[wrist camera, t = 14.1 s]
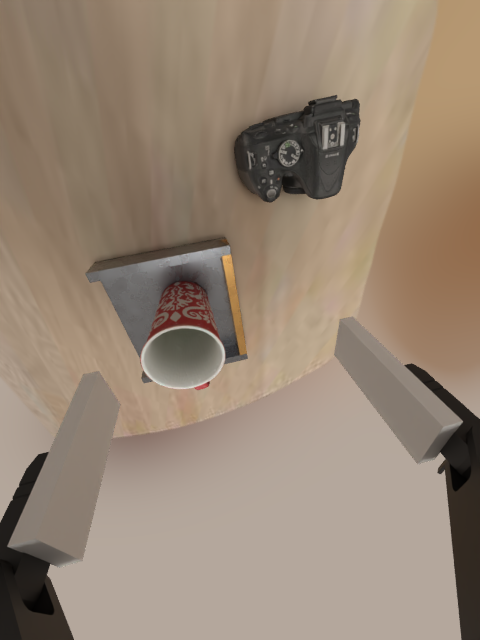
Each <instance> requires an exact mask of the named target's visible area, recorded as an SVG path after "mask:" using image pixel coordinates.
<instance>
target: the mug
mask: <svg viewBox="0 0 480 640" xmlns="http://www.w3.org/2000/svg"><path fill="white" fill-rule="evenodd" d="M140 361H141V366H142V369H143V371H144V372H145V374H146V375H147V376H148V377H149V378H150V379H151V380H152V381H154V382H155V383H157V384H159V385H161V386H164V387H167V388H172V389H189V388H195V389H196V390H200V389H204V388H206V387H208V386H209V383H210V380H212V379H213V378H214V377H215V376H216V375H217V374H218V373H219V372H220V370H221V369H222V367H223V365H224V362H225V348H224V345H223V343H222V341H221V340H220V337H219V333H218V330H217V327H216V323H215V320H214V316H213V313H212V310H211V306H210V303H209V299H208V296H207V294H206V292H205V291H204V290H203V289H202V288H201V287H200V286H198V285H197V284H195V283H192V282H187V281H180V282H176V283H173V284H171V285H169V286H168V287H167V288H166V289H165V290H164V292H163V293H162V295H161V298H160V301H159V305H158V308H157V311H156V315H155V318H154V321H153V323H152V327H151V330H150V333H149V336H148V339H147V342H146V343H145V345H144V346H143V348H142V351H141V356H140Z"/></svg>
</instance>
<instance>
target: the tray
mask: <svg viewBox="0 0 480 640" xmlns="http://www.w3.org/2000/svg"><path fill="white" fill-rule="evenodd" d="M85 274H86V276H87V278H88V280H89V282H90V283H91V282H96V281H101V282H102V284H103V286H104V288H105V290H106V292H107V294H108V296H109V298H110V300H111V302H112V304H113V306H114V308H115V310H116V312H117V314H118V316H119V318H120V320H121V322H122V324H123V326H124V328H125V330H126V332H127V334H128V336H129V338H130V340H131V342H132V344H133V345H134V347H135V349H136V351H137V353H138V355H139V357H140V356H141V351H142V348H143V346H144V345H145V343H146V342H147V339H148V336H149V333H150V330H151V327H152V323H153V321H154V318H155V315H156V311H157V308H158V305H159V301H160V298H161V295H162V293H163V292H164V290H165V289H166V288H167V287H168V286H169V285H171V284H173V283H176V282H180V281H187V282H192V283H195V284H197V285H198V286H200V287H201V288H202V289H203V290H204V291H205V292H206V294H207V296H208V299H209V303H210V306H211V310H212V313H213V316H214V320H215V323H216V327H217V330H218V333H219V337H220V340H221V341H222V343H223V345H224V348H225V362H224V364H227V363H232V362H236V361H240V360H244V359H248V357H247V351H246V345H245V339H244V332H243V326H242V320H241V314H240V307H239V301H238V295H237V289H236V282H235V276H234V270H233V264H232V257H231V251H230V245H229V243H228V242H227V240H226V238H225V237H224V238H219V239H214V240H209V241H203V242H198V243H193V244H188V245H183V246H178V247H172V248H167V249H162V250H157V251H152V252H147V253H141V254H136V255H131V256H126V257H121V258H116V259H110V260H105V261H100V262H95V263H94V264H93V265H92V267H91V268H90V269H89V270H88V271H87V272H86V273H85ZM141 379H142V381H143V382H144V383H148V382H152V380H151V379H150V378H149V377H148V376H147V375H146V374H145V372H144V371H143V373H142V378H141Z"/></svg>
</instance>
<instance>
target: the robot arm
mask: <svg viewBox="0 0 480 640" xmlns="http://www.w3.org/2000/svg"><path fill="white" fill-rule="evenodd" d="M334 355H335V356H336V358H337V359H338V360H339V361H340V363H341V364H342V366H343V367H344V368H345V369H346V371H347V372H348V374H349V375H350V376H351V377H352V379H353V380H354V381H355V383H356V384H357V385H358V387H359V388H360V389H361V391H362V392H363V393H364V394H365V396H366V397H367V398H368V400H369V401H370V402H371V404H372V405H373V406H374V408H375V409H376V410H377V412H378V413H379V414H380V416H381V417H382V418H383V419H384V421H385V422H386V423H387V425H388V426H389V427H390V429H391V430H392V431H393V433H394V434H395V435H396V436H397V438H398V439H399V440H400V442H401V443H402V444H403V446H404V447H405V448H406V450H407V451H408V452H409V454H410V455H411V456H412V458H413V459H414V460H415V461H416V463H417V464H421V463H424V462H427V461H431V460H434V459H435V458H436V457H437V456H438V454H439V453H440V452H441V454H442V455H443V456H444V457H445V458H446V460H445V461H444V462H443V463H442V464H441V466H440V467H439V468H438V473H439V474H441V473H442V472H443V471H444V470H445V475H446V485H447V495H448V504H449V505H448V506H449V516H450V526H451V536H452V546H453V556H454V567H455V577H456V587H457V597H458V607H459V618H460V628H461V638H462V640H480V419H479V418H478V417H476V416H475V415H474V414H473V413H472V412H471V411H470V410H469V409H467V408H466V407H465V406H464V405H463V404H462V403H461V402H460V401H458V400H457V399H456V398H455V397H454V396H453V395H452V394H451V393H449V392H448V391H447V390H446V389H444V388H443V386H441V385H440V384H439V383H438V382H437V381H435V380H434V378H433V377H431V376H430V375H429V374H428V373H427V372H426V371H425V370H423V369H421V368H419V367H417V366H416V365H414V364H407V365H403V364H402V363H401V362H400V361H399V360H398V359H397V358H396V357H395V356H394V355H393V354H391V352H389V351H388V350H387V349H386V348H385V347H384V346H383V345H382V344H381V343H380V342H379V341H378V340H377V339H376V338H375V337H374V336H373V335H372V334H371V333H369V332H368V331H367V330H366V329H365V328H364V327H363V326H362V325H361V324H360V323H359V322H358V321H357V320H356V319H355V318H354V317H348V318H344V319H340V322H339V329H338V335H337V341H336V347H335V353H334ZM119 408H120V403H119V401H118V400H117V398H116V397H115V395H114V393H113V392H112V390H111V389H110V387H109V386H108V384H107V383H106V381H105V380H104V378H103V377H102V375H101V373H100V372H99V371H97V372H93V373H88V374H83V376H82V379H81V381H80V383H79V385H78V388H77V390H76V392H75V394H74V397H73V399H72V401H71V403H70V406H69V408H68V410H67V413H66V415H65V417H64V419H63V422H62V424H61V426H60V428H59V431H58V433H57V435H56V437H55V440H54V442H53V444H52V446H51V449H50V451H49V452H46V453H42V454H39V455H38V456H37V457H36V458H35V459H34V461H33V462H32V463H31V464H30V465H29V467H28V468H27V469H26V471H25V473H24V475H23V477H22V479H21V481H20V484H19V487H18V488H17V490H16V492H15V494H14V496H13V500H12V501H11V502H10V504H9V506H8V508H7V510H6V512H5V514H4V516H3V518H2V520H1V522H0V640H74V639H73V636H72V633H71V631H70V628H69V626H68V623H67V620H66V618H65V616H64V613H63V610H62V608H61V605H60V603H59V600H58V597H57V595H56V592H55V590H54V587H53V585H52V582H51V580H50V578H49V577H48V576H47V572H48V569H49V566H50V564H52V565H55V566H57V567H63V566H66V565H70V564H73V563H76V562H80V561H82V559H83V555H84V552H85V547H86V543H87V539H88V535H89V531H90V527H91V523H92V519H93V515H94V510H95V506H96V502H97V498H98V494H99V489H100V486H101V481H102V477H103V473H104V469H105V465H106V461H107V457H108V453H109V449H110V445H111V440H112V436H113V432H114V428H115V424H116V420H117V416H118V412H119Z"/></svg>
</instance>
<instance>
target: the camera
mask: <svg viewBox="0 0 480 640" xmlns="http://www.w3.org/2000/svg"><path fill="white" fill-rule="evenodd" d="M336 98H337V95H335V96H331V97H326V98H322V99H317V100H313V101H310V102H308V104H309V106H306V107H305V108H304V111H300V112H295V113H290V114H286V115H281V116H278V117H274V118H271V119H268V120H265V121H263V123H259V124H255V125H252V126H249V128H248V129H246V130H245V131H243V132H242V133H241V135H239V136H238V137H237V139H236V142H235V149H234V150H235V159H236V165H237V169H238V173H239V176H240V178H241V180H242V182H243V183H244V185H245V186H246V187H247V188H248V190H250V191H251V192H252V193H254V194H257V195H258V196H259V197H260V198H261V199H262V200H263V201H265V202H273V201H275V200H276V199H277V198H278V197H279V195H280V191H281V187H282V185H283V189H284V192H286V193H289V194H307V195H308V196H309V197H310V198H313V199H324V198H328V197H332V196H335V195H336V194H337V193H338V192H339V191H340V189H341V185H342V180H343V175H344V170H345V165H346V162H347V159H348V157H349V155H350V154H351V153H352V151H353V150H354V148H355V147H356V144H357V142H358V136H359V127H360V118H359V107H360V104H359V101H358V100H357V99H354V100H347V101H344V102H342V101H341V100H336Z"/></svg>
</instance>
